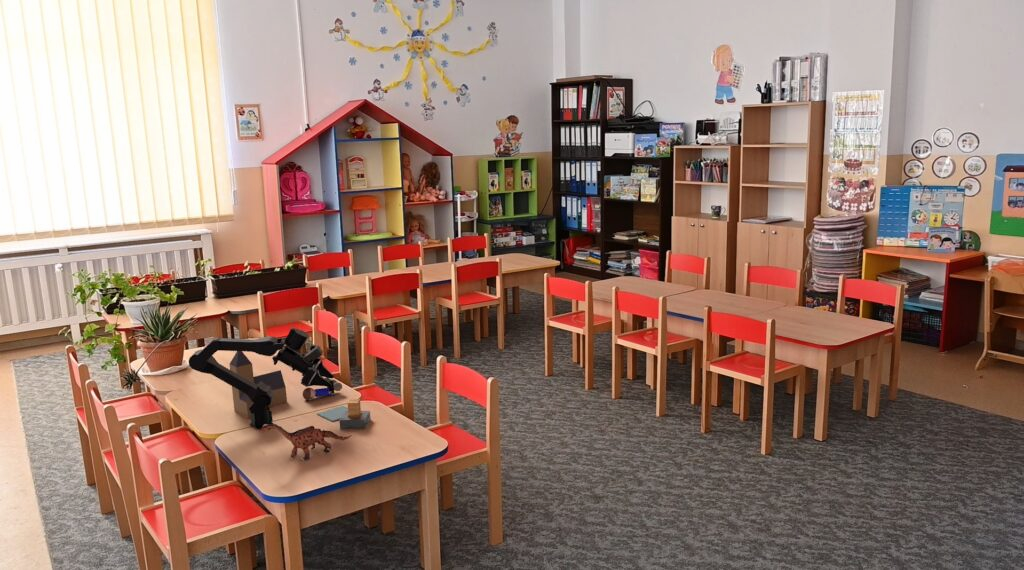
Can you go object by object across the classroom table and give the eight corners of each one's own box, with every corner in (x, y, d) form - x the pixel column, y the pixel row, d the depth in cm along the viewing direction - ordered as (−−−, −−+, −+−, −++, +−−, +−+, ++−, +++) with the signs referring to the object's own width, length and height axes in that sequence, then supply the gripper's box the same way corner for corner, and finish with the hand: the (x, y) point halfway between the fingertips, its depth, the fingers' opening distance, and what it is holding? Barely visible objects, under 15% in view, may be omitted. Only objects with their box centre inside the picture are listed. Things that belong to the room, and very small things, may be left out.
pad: (332, 421, 290) (332, 420, 290) (317, 414, 298) (317, 413, 298) (358, 413, 297) (358, 412, 297) (342, 406, 305) (342, 405, 305)
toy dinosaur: (258, 466, 254) (254, 422, 251) (341, 439, 274) (337, 398, 271) (270, 474, 248) (266, 429, 245) (353, 446, 268) (350, 404, 264)
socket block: (364, 429, 282) (364, 419, 282) (340, 429, 283) (339, 420, 282) (370, 419, 291) (369, 410, 290) (346, 419, 292) (345, 410, 291)
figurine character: (335, 394, 325) (299, 398, 316) (336, 375, 324) (300, 379, 315) (342, 398, 319) (306, 402, 310) (342, 380, 318) (306, 383, 309)
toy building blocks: (234, 410, 305) (227, 348, 300) (279, 398, 317) (274, 338, 312) (248, 418, 296) (241, 354, 291) (294, 405, 308) (288, 344, 303)
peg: (359, 426, 285) (357, 402, 283) (349, 426, 285) (347, 402, 284) (361, 422, 289) (359, 399, 287) (351, 422, 289) (350, 399, 287)
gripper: (302, 348, 276) (341, 371, 279) (309, 334, 294) (346, 355, 297) (285, 374, 277) (324, 396, 280) (293, 359, 295) (330, 380, 298)
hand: (332, 381), depth 289 cm, fingers open, 9 cm apart
